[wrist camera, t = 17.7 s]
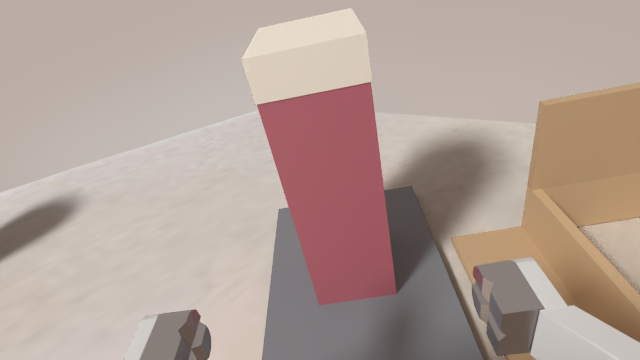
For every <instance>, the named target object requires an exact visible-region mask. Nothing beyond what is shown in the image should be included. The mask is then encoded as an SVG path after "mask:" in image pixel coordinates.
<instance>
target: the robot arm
mask: <svg viewBox="0 0 640 360" xmlns="http://www.w3.org/2000/svg"><path fill="white" fill-rule="evenodd" d="M473 277H474V279H475V281H476V282H475V283H474V284H473V285H472V296H473V302H474V305H475V308H476V311H477V313H478V316H479V318H480V319H481V320H482V321H484V322H485V323H486V324H487V335H488V338H489V340H490V342H491V344H492V346H493V348H494V351H495V353H496V355H497V356H503V355H512V354H522V353H530V355H532V356H533V357H534V358H535V359H536V360H640V343H639V342H638V341H636V340H634V339H632V338H631V337H629V336H627V335H625V334H624V333H622V332H620V331H618V330H617V329H615V328H613V327H611V326H610V325H608V324H606V323H604V322H603V321H601V320H599V319H597V318H595V317H594V316H592V315H590V314H588V313H587V312H585V311H583V310H581V309H580V308H578V307H576V306H574V305H572V306H568V305H567V304H566V302H565V301H564V300H563V298H562V297H561V296H560V294H559V293H558V291H557V290H556V289H555V287H554V286H553V284H552V283H551V282H550V280H549V279H548V278H547V276H546V275H545V273H544V272H543V271H542V269H541V268H540V266H539V265H538V264H537V262H536V261H535V260H534V259H533V258H531V257H527V258H521V259H514V260H506V261H500V262H494V263H488V264H482V265H476V266H474V268H473ZM200 317H201V316H200V315H199V313H198V312H197V310H187V311H180V312H172V313H164V314H157V315H150V316H145V317H144V318H143V319H142V320H141V321H140V323H139V326H138V328H137V330H136V333H135V335H134V337H133V339H132V342H131V344H130V346H129V348H128V351H127V353H126V355H125V357H124V360H207V359H208V358H209V355H210V350H211V336H210V332H209V329H208V328H207V326H206V325H204V324H202V323H200V322H199V321H200Z"/></svg>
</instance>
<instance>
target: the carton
mask: <svg viewBox="0 0 640 360" xmlns="http://www.w3.org/2000/svg"><path fill="white" fill-rule="evenodd" d="M638 217H640V83H635V84H630V85H625V86H619V87H614V88H609V89H603V90H598V91H593V92H588V93H582V94H577V95H571V96H566V97H561V98H556V99H550V100H545V101H540V102H539V109H538V117H537V123H536V130H535V137H534V144H533V151H532V158H531V164H530V171H529V178H528V185H527V192H526V199H525V206H524V213H523V220H522V226H521V227H515V228H509V229H503V230H497V231H490V232H484V233H478V234H472V235H465V236H459V237H453V238H452V243H453V245H454V247H455V249H456V251H457V253H458V255H459V258H460V260H461V262H462V264H463V266H464V268H465V270H466V272H467V275H468V277H469V279H470V281H471V283H472V285H473V284H474V283H475V282H476V281H475V279H474V277H473V268H474V266H476V265H482V264H488V263H494V262H500V261H506V260H514V259H521V258H527V257H531V258H533V259H534V260H535V261H536V262H537V264H538V265H539V266H540V268H541V269H542V271H543V272H544V273H545V275H546V276H547V278H548V279H549V280H550V282H551V283H552V284H553V286H554V287H555V289H556V290H557V291H558V293H559V294H560V296H561V297H562V298H563V300H564V301H565V302H566V304H567V305H568V306H572V305H574V306H576V307H578V308H580V309H581V310H583V311H585V312H587V313H588V314H590V315H592V316H594V317H595V318H597V319H599V320H601V321H603V322H604V323H606V324H608V325H610V326H611V327H613V328H615V329H617V330H618V331H620V332H622V333H624V334H625V335H627V336H629V337H631V338H632V339H634V340H636V341H638V342H639V343H640V294H639V293H638V292H637V291H636V290H635V289H634V288H633V287H632V286H631V285H630V284H629V282H628V281H627V280H626V279H625V278H624V277H623V276H622V275H621V274H620V273H619V272H618V271H617V270H616V268H615V267H614V266H613V265H612V264H611V263H610V262H609V261H608V260H607V259H606V258H605V257H604V256H603V254H602V253H601V252H600V251H599V250H598V249H597V248H596V247H595V246H594V245H593V244H592V243H591V242H590V240H589V239H588V238H587V237H586V236H585V235H584V234H583V233H582V232H581V231H580V230H579V229H578V228H577V227H580V226H587V225H593V224H599V223H606V222H612V221H618V220H625V219H631V218H638ZM506 357H507V359H508V360H536V359H535V358H534V357H533V356H532V355H530V353H522V354H512V355H506Z"/></svg>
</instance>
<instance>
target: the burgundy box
mask: <svg viewBox="0 0 640 360" xmlns="http://www.w3.org/2000/svg"><path fill="white" fill-rule="evenodd" d="M242 63H243V66H244V69H245V72H246V76H247V78H248V82H249V85H250V88H251V92H252V95H253V98H254V101H255V104H256V105H257V106H258V109H259V113H260V116H261V119H262V122H263V125H264V129H265V132H266V135H267V138H268V142H269V145H270V148H271V151H272V154H273V158H274V161H275V164H276V167H277V171H278V174H279V177H280V180H281V183H282V187H283V190H284V193H285V196H286V200H287V203H288V206H289V209H290V212H291V216H292V219H293V222H294V225H295V228H296V232H297V235H298V238H299V241H300V245H301V248H302V251H303V254H304V257H305V261H306V264H307V267H308V270H309V274H310V277H311V280H312V283H313V286H314V290H315V293H316V296H317V299H318V303H319V305H326V304H333V303H340V302H346V301H353V300H360V299H367V298H373V297H380V296H387V295H394V294H397V292H396V284H395V276H394V268H393V260H392V251H391V243H390V235H389V227H388V219H387V211H386V202H385V194H384V186H383V178H382V170H381V162H380V153H379V145H378V137H377V129H376V121H375V113H374V105H373V96H372V89H371V82H372V79H371V78H372V77H371V70H370V61H369V53H368V44H367V36H366V32H365V30H364V28H363V27H362V25H361V23H360V22H359V20H358V18H357V17H356V15H355V13H354V12H353V10H352V9H351V8H349V9H345V10H340V11H336V12H331V13H327V14H322V15H318V16H313V17H308V18H304V19H299V20H295V21H290V22H285V23H281V24H276V25H272V26H267V27H262V28H259V29H258V31H257V32H256V34H255V36H254V38H253V40H252V41H251V43H250V45H249V47H248V49H247V50H246V52H245V54H244V55H243V57H242Z"/></svg>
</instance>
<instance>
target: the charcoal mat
mask: <svg viewBox="0 0 640 360" xmlns="http://www.w3.org/2000/svg"><path fill="white" fill-rule="evenodd" d="M384 194H385V202H386V211H387V219H388V227H389V235H390V243H391V251H392V260H393V268H394V276H395V284H396V292H397V294H394V295H387V296H380V297H373V298H367V299H360V300H353V301H346V302H340V303H333V304H326V305H319V303H318V299H317V296H316V293H315V290H314V286H313V283H312V280H311V277H310V274H309V270H308V267H307V264H306V261H305V257H304V254H303V251H302V248H301V245H300V241H299V238H298V235H297V232H296V228H295V225H294V222H293V219H292V216H291V212H290V209H289V208H283V209H279V212H278V221H277V230H276V239H275V248H274V257H273V266H272V275H271V284H270V293H269V302H268V311H267V320H266V328H265V337H264V346H263V355H262V360H483V357H482V355H481V353H480V350H479V348H478V345H477V343H476V340H475V338H474V336H473V333H472V331H471V328H470V326H469V324H468V321H467V319H466V316H465V314H464V311H463V309H462V307H461V304H460V302H459V299H458V297H457V295H456V292H455V290H454V287H453V285H452V282H451V280H450V278H449V275H448V273H447V270H446V268H445V266H444V263H443V261H442V258H441V256H440V254H439V251H438V249H437V246H436V244H435V241H434V239H433V237H432V234H431V232H430V229H429V227H428V225H427V222H426V220H425V217H424V215H423V212H422V210H421V208H420V205H419V203H418V200H417V198H416V196H415V193H414V191H413V188H412V186H410V187H404V188H398V189H393V190H387V191H384Z"/></svg>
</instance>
